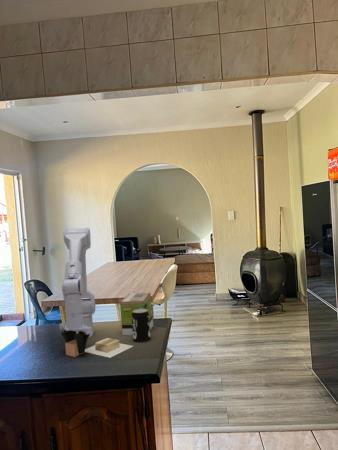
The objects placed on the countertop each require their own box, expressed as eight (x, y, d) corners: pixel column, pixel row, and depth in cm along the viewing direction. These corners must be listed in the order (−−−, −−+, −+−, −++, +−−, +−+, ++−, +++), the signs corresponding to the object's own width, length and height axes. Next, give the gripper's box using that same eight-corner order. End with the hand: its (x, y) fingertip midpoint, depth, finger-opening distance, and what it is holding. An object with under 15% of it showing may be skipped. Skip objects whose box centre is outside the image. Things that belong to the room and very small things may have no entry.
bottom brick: (95, 349, 129) (95, 342, 129) (107, 344, 134) (107, 337, 134) (107, 352, 126) (107, 345, 126) (119, 347, 131) (119, 340, 131)
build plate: (81, 353, 129) (81, 350, 129) (105, 343, 139) (105, 340, 139) (110, 360, 121) (110, 357, 121) (133, 348, 131) (133, 346, 131)
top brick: (66, 357, 127) (65, 343, 126) (76, 353, 130) (75, 339, 130) (74, 359, 124) (73, 345, 124) (85, 355, 128) (84, 341, 128)
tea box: (131, 326, 159) (128, 292, 159) (153, 326, 158) (151, 291, 157) (121, 338, 144) (119, 300, 144) (146, 337, 143) (144, 299, 143)
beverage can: (148, 345, 134) (146, 312, 134) (131, 345, 135) (128, 312, 135) (152, 339, 140) (150, 308, 140) (136, 339, 142) (134, 308, 142)
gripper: (51, 313, 128) (54, 352, 129) (79, 318, 120) (82, 359, 120) (67, 308, 134) (70, 345, 134) (95, 312, 126) (97, 352, 126)
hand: (76, 351), depth 128 cm, fingers closed on top brick, 4 cm apart
